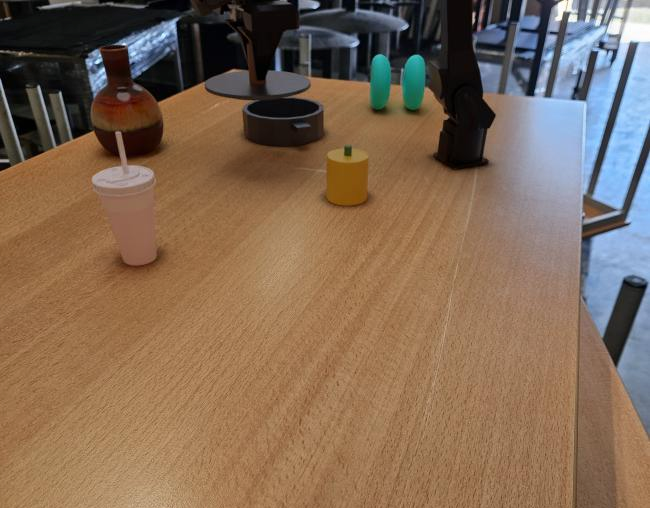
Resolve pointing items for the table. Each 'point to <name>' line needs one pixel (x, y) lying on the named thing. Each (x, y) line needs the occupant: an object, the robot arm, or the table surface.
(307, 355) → the table surface
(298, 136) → the pan
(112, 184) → the smoothie
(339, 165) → the pepper
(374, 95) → the teal upright capsules
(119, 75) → the vase
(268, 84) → the pan lid
